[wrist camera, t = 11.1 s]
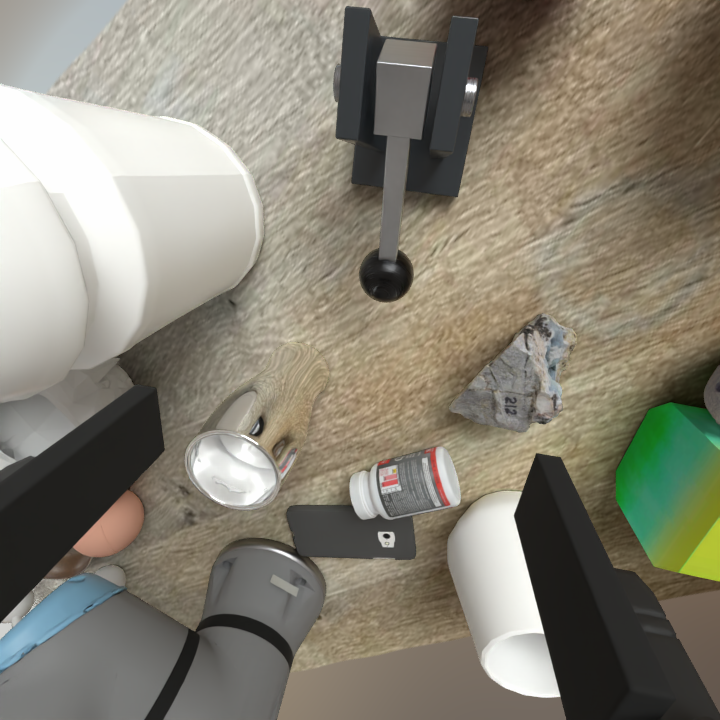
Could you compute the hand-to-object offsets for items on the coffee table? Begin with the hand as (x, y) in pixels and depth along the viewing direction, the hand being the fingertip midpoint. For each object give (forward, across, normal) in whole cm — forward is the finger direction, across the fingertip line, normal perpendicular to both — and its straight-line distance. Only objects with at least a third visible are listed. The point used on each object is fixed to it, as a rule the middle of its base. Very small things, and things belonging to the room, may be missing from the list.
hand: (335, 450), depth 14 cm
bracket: (+23, 0, -12) cm, 26 cm away
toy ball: (+20, +27, +30) cm, 45 cm away
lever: (+14, 0, -8) cm, 16 cm away
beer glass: (+23, +8, +9) cm, 26 cm away
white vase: (+23, -16, +24) cm, 37 cm away
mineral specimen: (+23, -11, +5) cm, 26 cm away
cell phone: (+22, 0, +30) cm, 37 cm away
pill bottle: (+20, -9, +16) cm, 27 cm away
